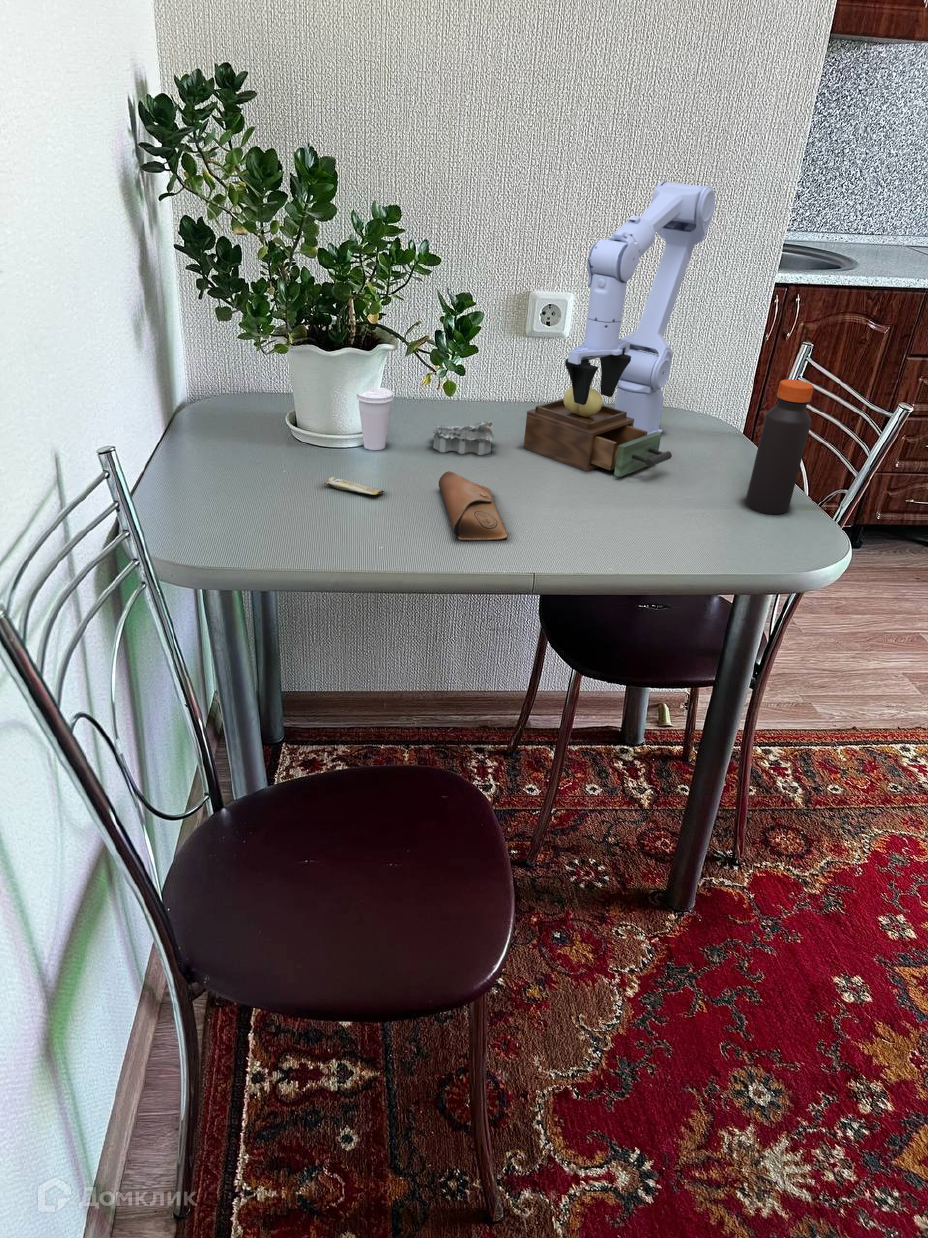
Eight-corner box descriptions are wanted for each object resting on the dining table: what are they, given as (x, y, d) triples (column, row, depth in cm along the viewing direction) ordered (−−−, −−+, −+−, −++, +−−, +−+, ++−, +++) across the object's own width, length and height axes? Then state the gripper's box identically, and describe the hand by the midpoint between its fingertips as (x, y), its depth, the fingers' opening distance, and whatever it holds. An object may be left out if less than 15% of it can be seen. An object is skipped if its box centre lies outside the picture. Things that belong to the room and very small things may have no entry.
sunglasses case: (512, 537, 128) (491, 499, 125) (469, 560, 129) (447, 524, 126) (489, 488, 144) (471, 453, 140) (451, 509, 144) (431, 475, 141)
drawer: (677, 469, 155) (682, 440, 153) (640, 484, 148) (645, 454, 145) (595, 441, 165) (598, 413, 163) (557, 454, 158) (560, 425, 155)
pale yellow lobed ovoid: (573, 407, 162) (576, 379, 160) (605, 417, 158) (609, 389, 156) (556, 412, 159) (559, 384, 156) (588, 422, 155) (592, 394, 152)
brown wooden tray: (572, 400, 165) (573, 395, 165) (626, 417, 159) (627, 412, 158) (535, 411, 159) (535, 406, 158) (589, 429, 152) (590, 424, 151)
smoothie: (356, 439, 161) (356, 361, 154) (392, 440, 162) (393, 362, 154) (355, 452, 155) (355, 371, 148) (393, 453, 156) (394, 372, 149)
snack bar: (384, 489, 140) (376, 489, 137) (383, 499, 140) (374, 499, 138) (332, 475, 143) (322, 475, 140) (330, 485, 144) (320, 484, 141)
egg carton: (493, 443, 164) (495, 421, 161) (490, 457, 157) (492, 435, 155) (435, 437, 164) (436, 416, 162) (429, 451, 158) (430, 429, 156)
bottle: (788, 502, 147) (820, 381, 137) (787, 518, 142) (820, 392, 131) (746, 495, 149) (774, 374, 139) (743, 510, 143) (772, 385, 133)
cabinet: (628, 455, 162) (634, 418, 158) (587, 471, 154) (592, 432, 150) (565, 434, 170) (570, 398, 167) (523, 448, 162) (526, 410, 159)
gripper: (597, 328, 142) (586, 412, 149) (649, 318, 151) (636, 397, 158) (562, 319, 146) (553, 402, 153) (615, 310, 155) (604, 388, 162)
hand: (593, 399), depth 156 cm, fingers open, 7 cm apart
